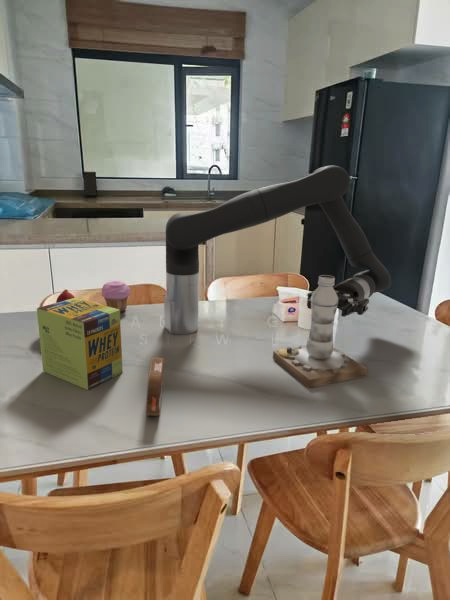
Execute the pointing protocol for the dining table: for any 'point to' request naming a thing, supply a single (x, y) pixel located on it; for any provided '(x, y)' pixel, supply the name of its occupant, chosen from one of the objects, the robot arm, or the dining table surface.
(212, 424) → the dining table surface
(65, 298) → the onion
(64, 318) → the protein box
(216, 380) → the dining table surface
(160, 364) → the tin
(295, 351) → the gear board
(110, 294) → the cupcake
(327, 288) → the plastic bottle
